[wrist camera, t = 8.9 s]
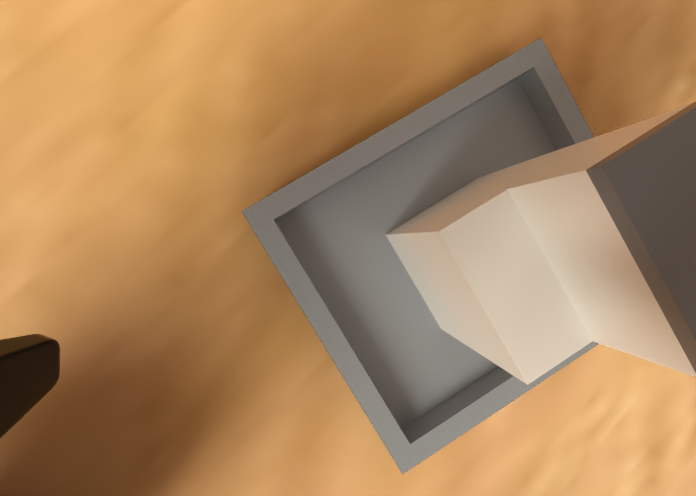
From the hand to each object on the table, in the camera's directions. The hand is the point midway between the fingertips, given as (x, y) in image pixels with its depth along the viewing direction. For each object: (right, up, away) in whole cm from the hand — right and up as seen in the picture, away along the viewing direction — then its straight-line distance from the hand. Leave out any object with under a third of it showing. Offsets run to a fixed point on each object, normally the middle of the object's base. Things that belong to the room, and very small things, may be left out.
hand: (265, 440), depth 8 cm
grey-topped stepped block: (+7, +3, +13) cm, 15 cm away
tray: (+7, +3, +14) cm, 16 cm away
